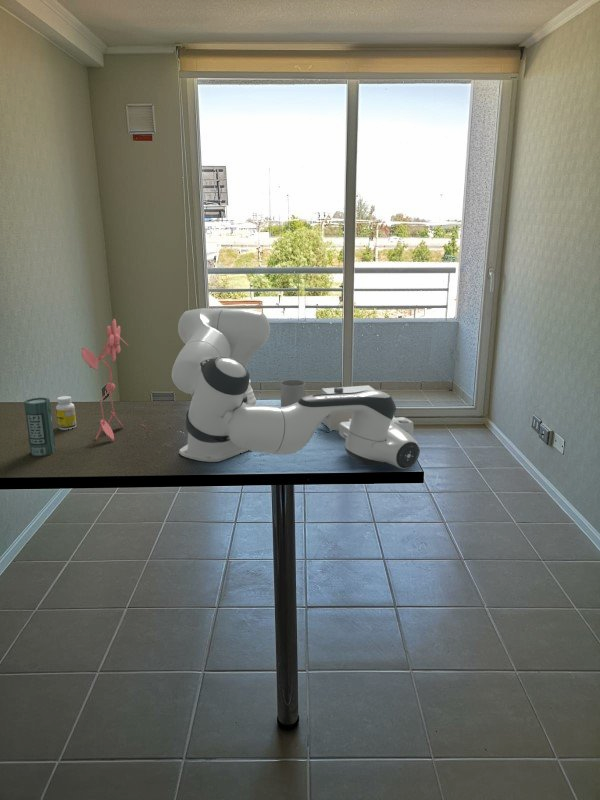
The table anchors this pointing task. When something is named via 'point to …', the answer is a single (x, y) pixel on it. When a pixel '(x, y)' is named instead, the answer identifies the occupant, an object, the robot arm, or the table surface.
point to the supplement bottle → (65, 413)
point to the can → (40, 426)
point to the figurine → (92, 361)
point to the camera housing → (336, 418)
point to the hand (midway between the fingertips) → (365, 420)
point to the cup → (291, 392)
